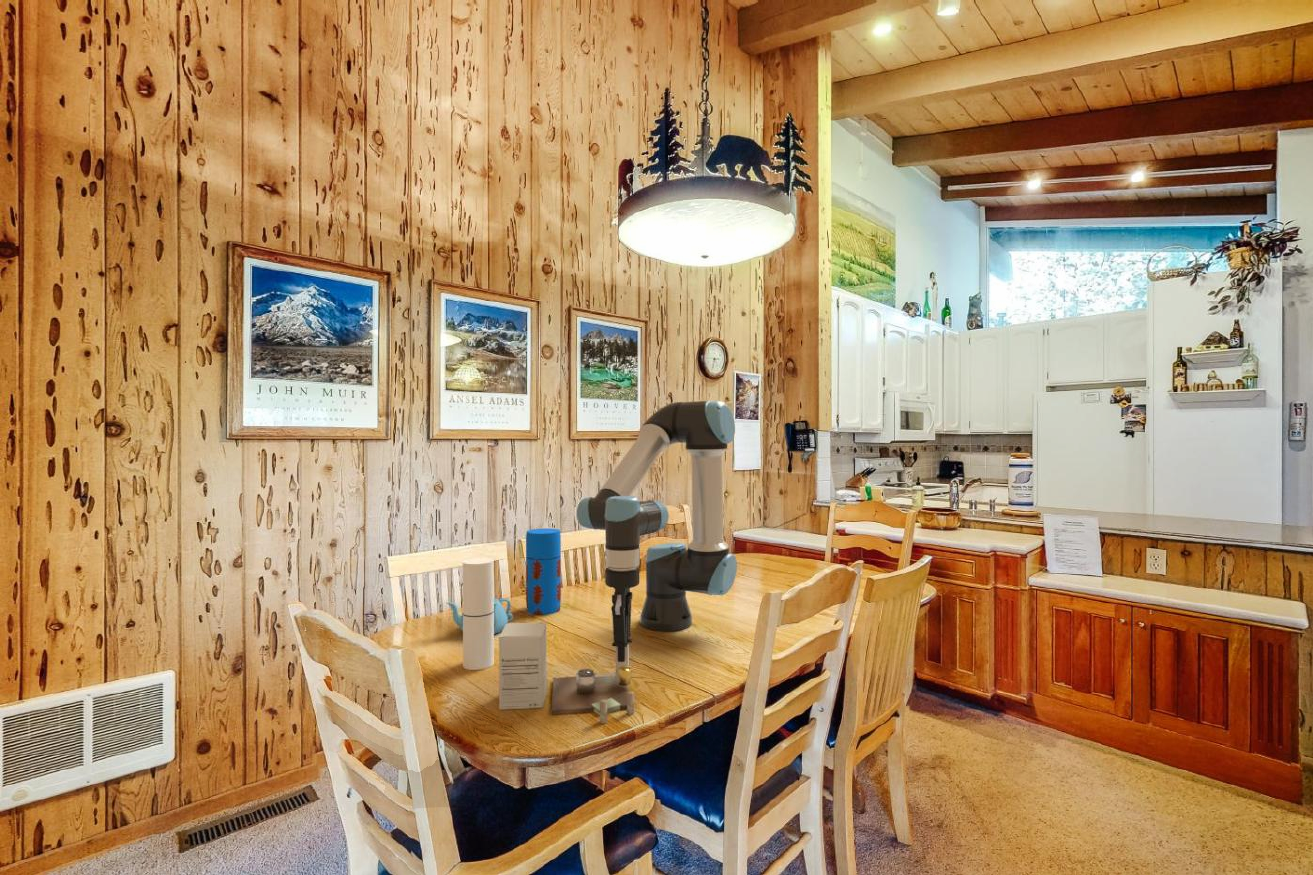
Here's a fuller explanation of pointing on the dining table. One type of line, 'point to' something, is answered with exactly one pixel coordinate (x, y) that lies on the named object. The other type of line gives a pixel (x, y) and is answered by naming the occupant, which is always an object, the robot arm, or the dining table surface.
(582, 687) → the crank handle
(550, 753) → the dining table surface
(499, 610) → the teapot
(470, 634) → the cylindrical container
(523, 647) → the supplement box
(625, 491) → the robot arm
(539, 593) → the thermos
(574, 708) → the dial board
